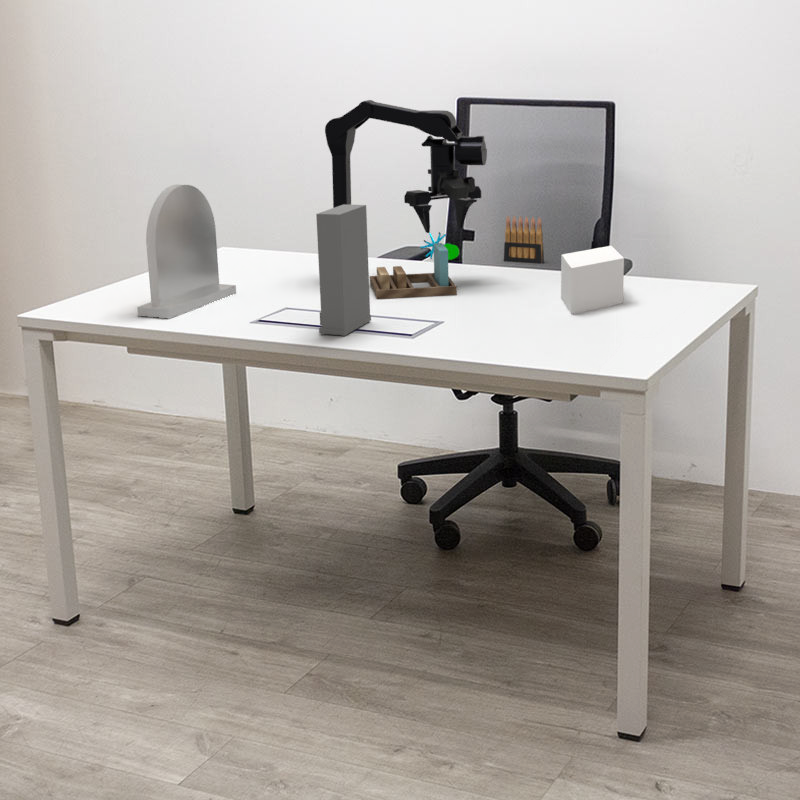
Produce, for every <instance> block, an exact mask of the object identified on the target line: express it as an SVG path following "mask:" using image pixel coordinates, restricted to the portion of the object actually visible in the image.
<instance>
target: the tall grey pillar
mask: <svg viewBox="0 0 800 800" xmlns="http://www.w3.org/2000/svg"><path fill="white" fill-rule="evenodd" d="M315 214H316V232H317V233H316V234H317V257H318V275H319V277H318V278H319V280H318V281H319V295H320V312H319V326H320V327H319V328H318V333H319V334H320V335H322V336H324V335H333V336H334V335H335V336H341V337H346V336H347V335H349V334H350V333H352V332H354V331H355V330H357V329H358V328H360V327H362V326H364V325H365V324H367V323H370V321H372V315H371V306H370V305H371V304H370V303H371V302H370V275H369V274H370V272H369V252H368V251H369V246H368V244H369V243H368V220H367V219H368V218H367V216H368V215H367V204H351V205H346V204H343V205H341V206H338V207H335V208H329V209H327V210H324V211H321V212H318V213H315Z"/></svg>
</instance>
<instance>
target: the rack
mask: <svg viewBox="0 0 800 800" xmlns="http://www.w3.org/2000/svg"><path fill="white" fill-rule="evenodd" d="M448 278H449V286H443V287H440V286H439V285H438V283H437V282H436V281H435V279H434V272H427V273H426V272H425V273H423V272H422V273H406V287H407V288H404V289H397V288H396V286H395V284H394V282H393V274H389V283H390V289H384V290H380V289H379V287H378V285H377V275H369V286H370V287H371V290H372V291H373V294H374V295H375V298H376V300H385V299H386V300H387V299H388V300H389V299H401V298H402V299H403V298H407V299H408V298H420V297H421V298H422V297H441V296H442V297H443V296H457V294H458V293H457V292H458V289H457V285H456V283H454V281H453V280H452V278H450V276H449V275H448ZM413 283H415V284H416V283H428V285H429V286H428V287H426V286H425V287H424V286H423V287H414V286H413Z"/></svg>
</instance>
